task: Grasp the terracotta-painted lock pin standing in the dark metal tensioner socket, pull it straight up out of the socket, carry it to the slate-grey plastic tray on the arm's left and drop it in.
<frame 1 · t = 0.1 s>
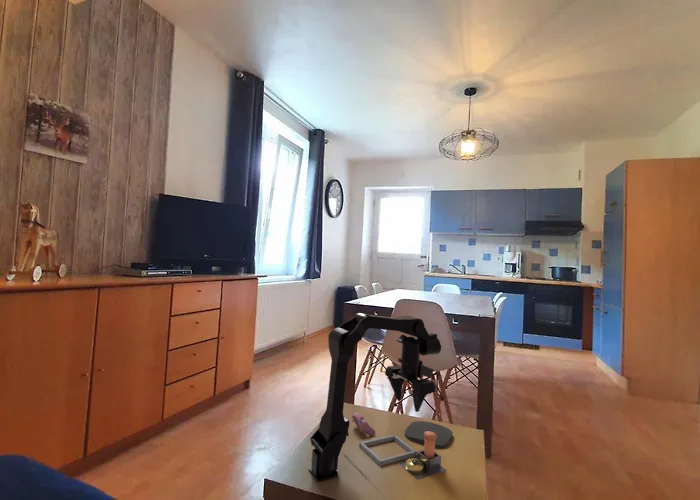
hand: (407, 405, 115), 15 cm above the table, fingers open, 9 cm apart
video game controller: (362, 431, 128), on the table
tray: (387, 454, 113), on the table
lock pin: (428, 464, 107), point 1 cm above the table, touching tensioner
tensioner: (421, 469, 106), on the table
media streaming box: (428, 439, 126), on the table
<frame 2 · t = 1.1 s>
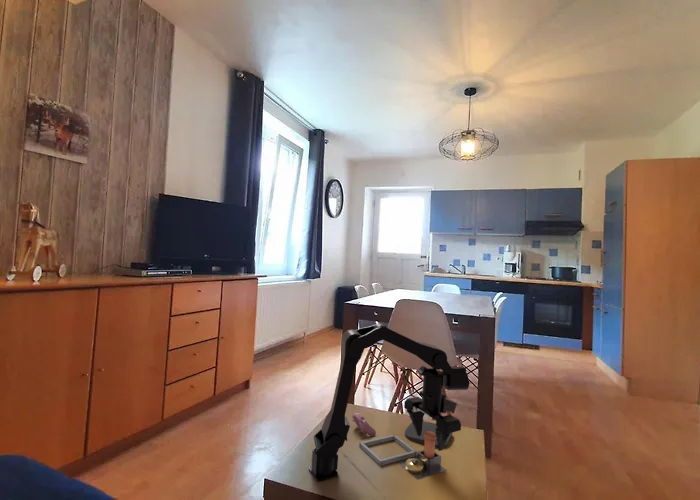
hand: (429, 442, 107), 7 cm above the table, fingers open, 9 cm apart
nothing on the table moved.
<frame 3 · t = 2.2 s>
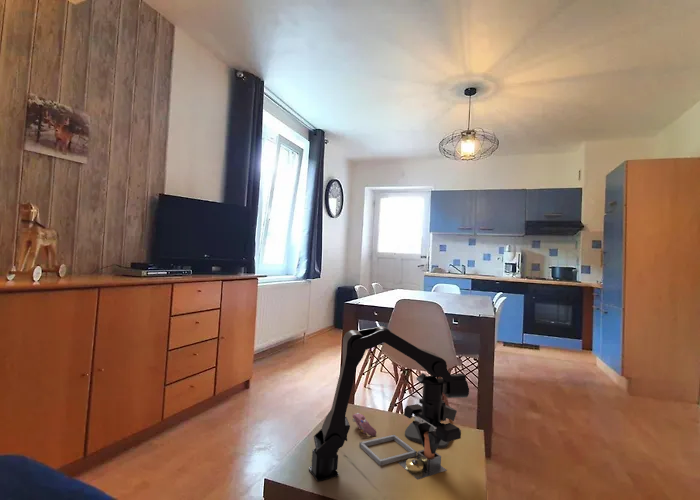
hand: (429, 450, 107), 5 cm above the table, fingers closed on lock pin, 3 cm apart
lock pin: (428, 464, 107), point 1 cm above the table, touching gripper, tensioner
everything else where it was.
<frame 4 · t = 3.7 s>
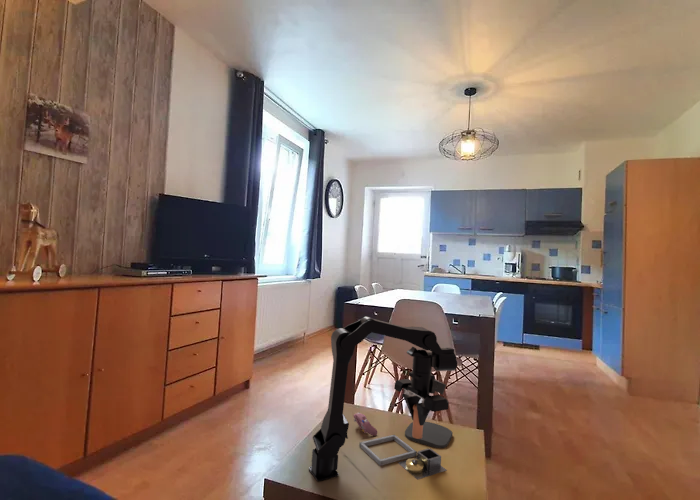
hand: (417, 422, 109), 12 cm above the table, fingers closed on lock pin, 3 cm apart
lock pin: (417, 436, 109), point 8 cm above the table, touching gripper
everything else where it was.
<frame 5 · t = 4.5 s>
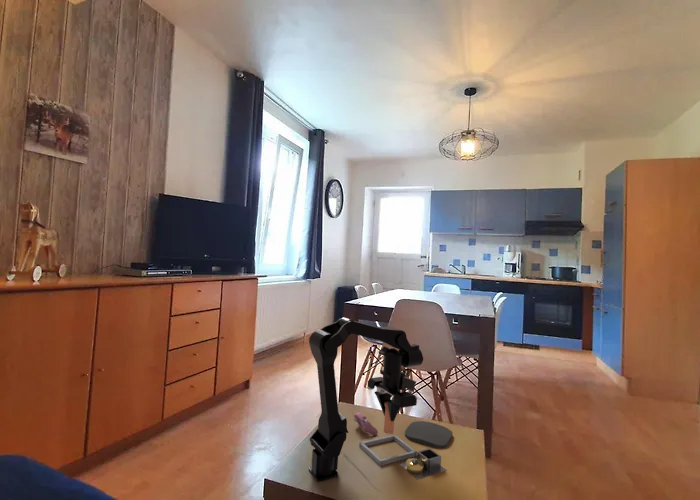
hand: (389, 418, 114), 11 cm above the table, fingers closed on lock pin, 3 cm apart
lock pin: (388, 431, 114), point 7 cm above the table, touching gripper
everything else where it was.
when the fingers open (6 cm above the table, at t = 5.3 s): lock pin drops 2 cm, resting on tray.
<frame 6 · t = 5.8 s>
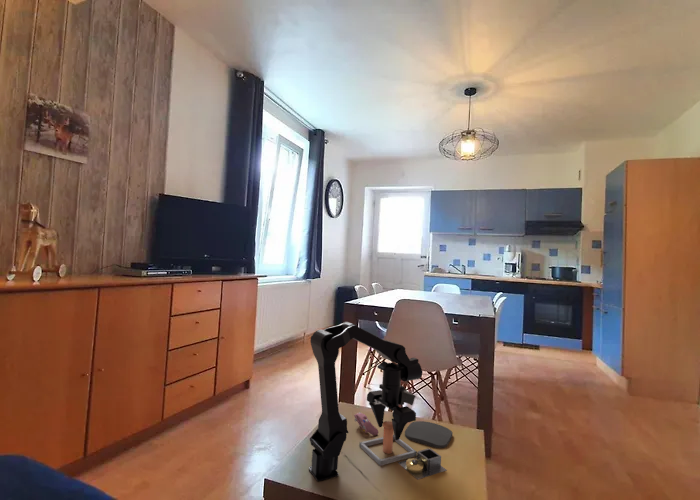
hand: (388, 433, 114), 6 cm above the table, fingers open, 9 cm apart
lock pin: (387, 452, 113), point 1 cm above the table, touching tray
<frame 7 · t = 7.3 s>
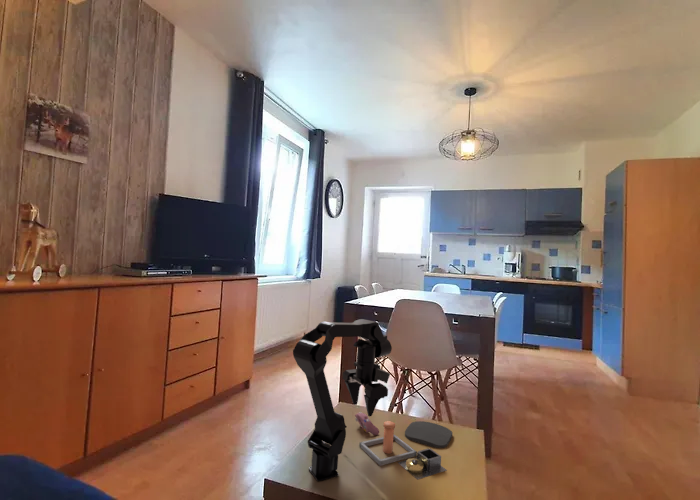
hand: (362, 410, 114), 13 cm above the table, fingers open, 9 cm apart
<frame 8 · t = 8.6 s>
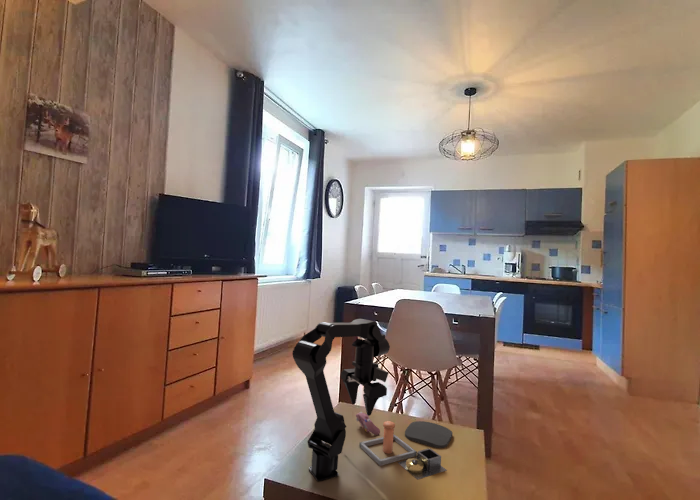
hand: (361, 409, 114), 13 cm above the table, fingers open, 9 cm apart
at the end: lock pin inside the target area on the tray (0.0 cm from its centre), point 0.6 cm above the tray's base; the gripper is holding nothing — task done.
